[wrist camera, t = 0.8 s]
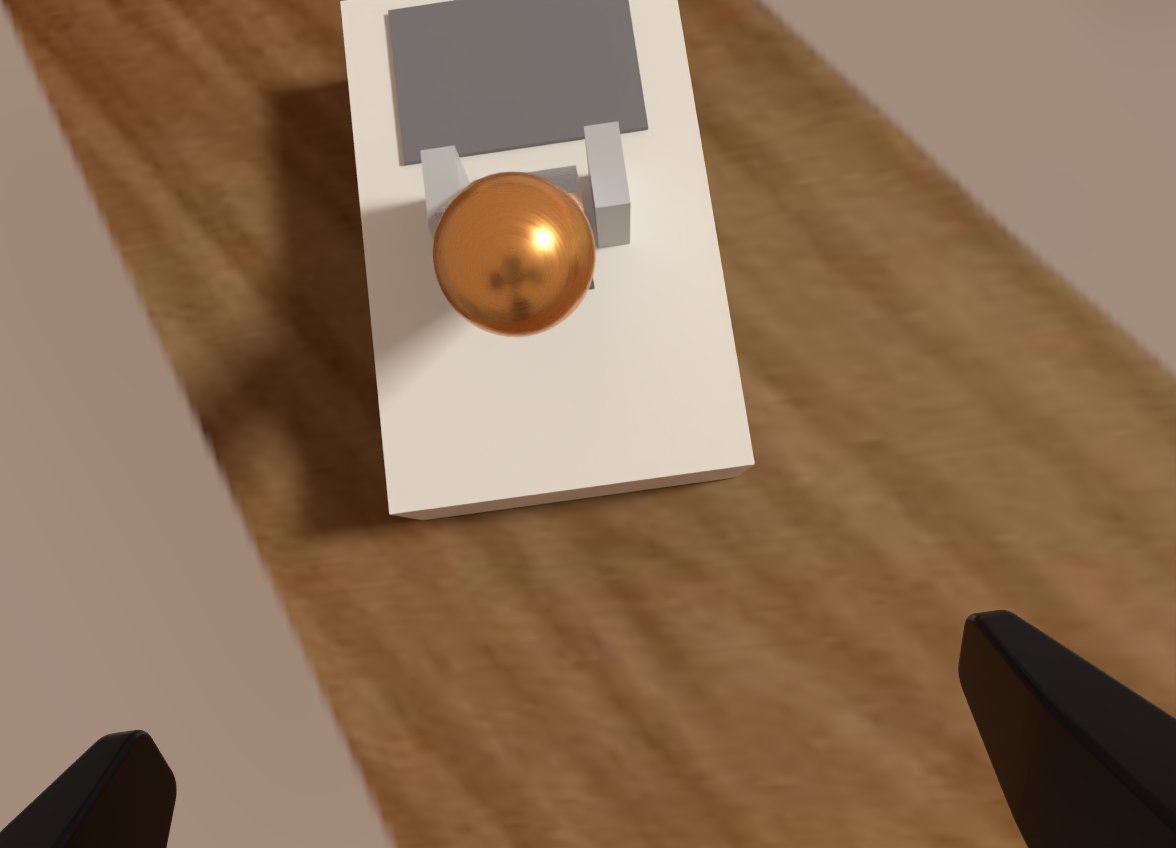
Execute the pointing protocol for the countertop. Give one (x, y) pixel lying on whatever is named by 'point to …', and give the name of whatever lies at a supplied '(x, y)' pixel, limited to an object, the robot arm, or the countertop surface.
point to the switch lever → (516, 251)
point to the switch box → (622, 242)
